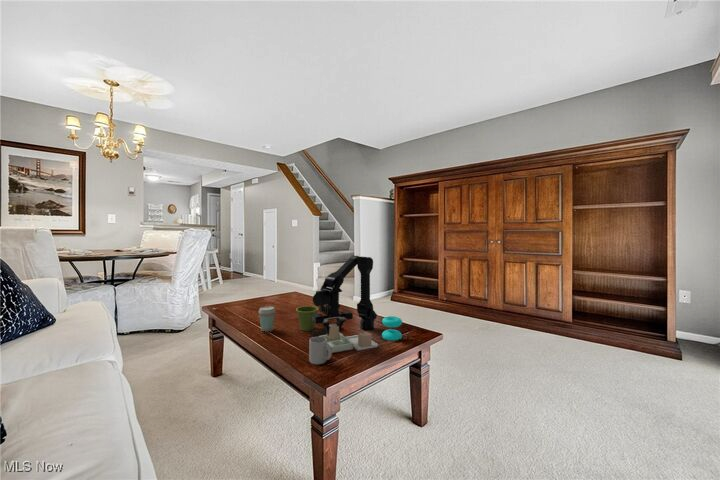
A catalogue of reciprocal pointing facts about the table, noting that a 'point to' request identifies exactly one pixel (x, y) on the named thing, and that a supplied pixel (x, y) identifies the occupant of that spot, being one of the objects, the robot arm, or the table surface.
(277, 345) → the table surface
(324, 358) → the cup
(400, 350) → the table surface
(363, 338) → the tan rectangular block
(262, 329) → the coffee cup
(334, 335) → the tan rectangular block
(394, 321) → the donuts
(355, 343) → the tray
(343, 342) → the bin
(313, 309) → the plant pot
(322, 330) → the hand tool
